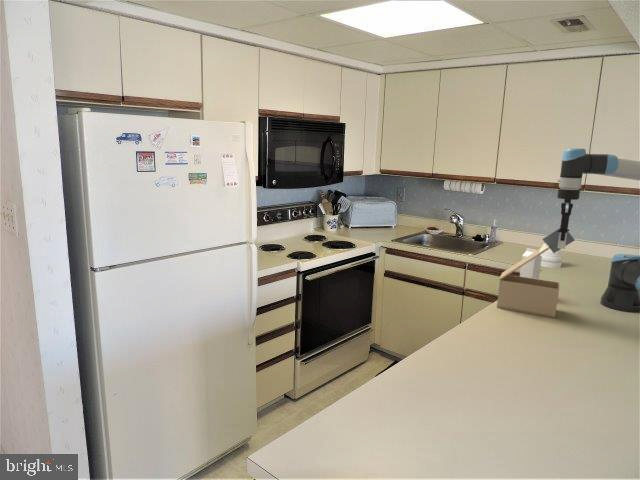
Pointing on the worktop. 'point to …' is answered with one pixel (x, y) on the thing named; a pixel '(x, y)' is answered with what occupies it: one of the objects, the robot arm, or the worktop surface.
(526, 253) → the milk
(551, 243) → the flap
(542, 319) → the worktop surface
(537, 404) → the worktop surface
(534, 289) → the carton
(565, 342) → the worktop surface
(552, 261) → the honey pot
